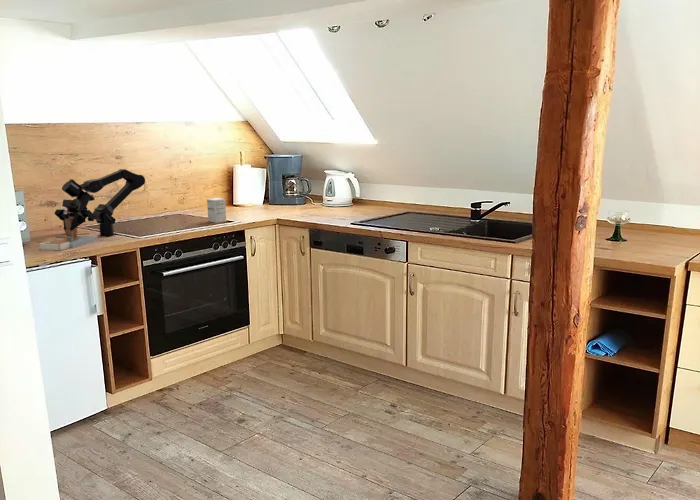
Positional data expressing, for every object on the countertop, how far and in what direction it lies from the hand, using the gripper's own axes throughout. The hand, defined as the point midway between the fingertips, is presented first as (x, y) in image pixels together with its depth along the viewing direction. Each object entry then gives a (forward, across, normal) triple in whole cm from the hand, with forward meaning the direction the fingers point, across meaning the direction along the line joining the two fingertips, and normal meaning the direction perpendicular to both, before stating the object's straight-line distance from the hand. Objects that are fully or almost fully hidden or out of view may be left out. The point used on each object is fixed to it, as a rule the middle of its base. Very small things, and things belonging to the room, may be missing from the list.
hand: (67, 229), depth 287 cm
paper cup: (-12, -19, +22) cm, 32 cm away
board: (+4, 0, +6) cm, 7 cm away
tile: (+7, 0, 0) cm, 7 cm away
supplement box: (-44, +41, +54) cm, 80 cm away
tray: (+12, 0, -2) cm, 12 cm away
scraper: (+3, 0, +4) cm, 5 cm away
